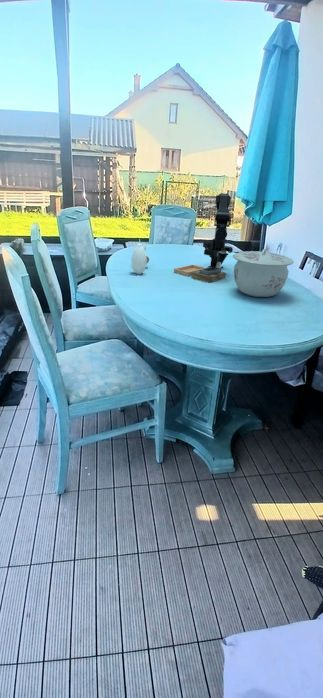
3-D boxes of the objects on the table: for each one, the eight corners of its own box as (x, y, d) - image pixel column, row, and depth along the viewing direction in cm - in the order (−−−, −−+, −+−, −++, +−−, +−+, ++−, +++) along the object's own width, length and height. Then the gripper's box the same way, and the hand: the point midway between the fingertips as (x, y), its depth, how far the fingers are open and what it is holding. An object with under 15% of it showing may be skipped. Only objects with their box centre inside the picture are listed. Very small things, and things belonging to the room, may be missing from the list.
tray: (192, 268, 220) (192, 264, 219) (206, 271, 214) (206, 268, 213) (173, 272, 208) (174, 268, 208) (188, 276, 203) (188, 272, 202)
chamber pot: (244, 303, 165) (251, 255, 157) (219, 285, 189) (224, 243, 180) (299, 301, 173) (309, 255, 164) (269, 284, 197) (276, 243, 188)
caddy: (212, 275, 208) (213, 260, 205) (220, 277, 205) (222, 262, 201) (199, 278, 200) (200, 263, 197) (207, 281, 197) (209, 265, 193)
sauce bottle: (139, 276, 198) (140, 240, 190) (128, 273, 202) (128, 238, 194) (149, 273, 203) (150, 239, 196) (137, 271, 207) (138, 237, 200)
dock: (207, 273, 210) (208, 268, 209) (225, 278, 203) (225, 272, 202) (191, 278, 200) (191, 272, 198) (209, 282, 193) (209, 277, 192)
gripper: (217, 233, 208) (214, 262, 215) (196, 236, 196) (194, 266, 202) (234, 236, 202) (231, 265, 208) (214, 239, 189) (211, 270, 196)
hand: (216, 267), depth 204 cm, fingers open, 4 cm apart
